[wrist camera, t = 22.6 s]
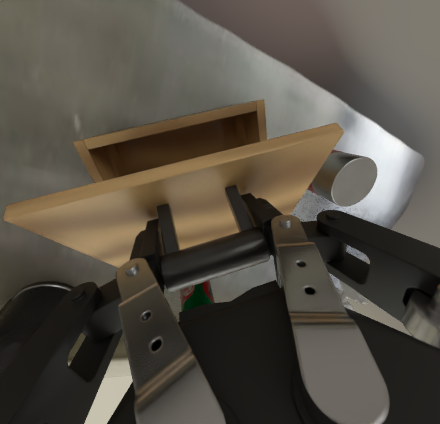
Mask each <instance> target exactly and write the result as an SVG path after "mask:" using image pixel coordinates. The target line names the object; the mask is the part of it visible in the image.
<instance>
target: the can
mask: <svg viewBox="0 0 440 424" xmlns="http://www.w3.org/2000/svg"><path fill="white" fill-rule="evenodd" d="M376 177H377V167H376V164H375V162H374V161H373V160H372V159H370V158H368V157H363V156H359V155H354V154H349V153H344V152H341V151H336V150H332V152H331V153H330V155H329V156H328V158H327V159H326V161H325V162H324V164H323V165H322V167H321V168H320V170H319V171H318V173H317V175H316V176H315V178H314V179H313V181H312V182H311V184H310V185H309V187H308V188H307V189H308V190H310V191H312V192H314V193H316V194H317V195H320V196H322V197H324V198H326V199H327V200H329V201H331V202H333V203H335V204H337V205H339V206H344V207H346V206H351V205H354V204H356V203H358V202H359V201H361V200H362V199H363V198H364V197H365V196H366V195H367V194H368V193H369V192H370V190H371V189H372V187H373V185H374V183H375V181H376Z"/></svg>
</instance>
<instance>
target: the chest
mask: <svg viewBox="0 0 440 424" xmlns="http://www.w3.org/2000/svg"><path fill="white" fill-rule="evenodd" d="M265 140H267V132H266V118H265V104H264V99H262V100H257V101H251V102H245V103H240V104H234V105H230V106H225V107H221V108H217V109H212V110H208V111H203V112H199V113H194V114H190V115H185V116H181V117H176V118H172V119H167V120H163V121H158V122H154V123H149V124H145V125H140V126H136V127H131V128H127V129H122V130H118V131H113V132H109V133H105V134H101V135H97V136H93V137H90V138H86V139H82V140H79V141H75V142H73V144H74V146H75V148H76V149H77V151H78V153H79V155H80V157H81V159H82V161H83V163H84V164H85V166H86V168H87V170H88V172H89V174H90V176H91V177H92V179H93V181H94V183H97V182H101V181H105V180H109V179H113V178H117V177H121V176H125V175H129V174H133V173H137V172H141V171H145V170H149V169H153V168H157V167H161V166H165V165H169V164H173V163H177V162H181V161H185V160H189V159H193V158H197V157H201V156H205V155H209V154H213V153H217V152H221V151H225V150H229V149H233V148H237V147H241V146H245V145H249V144H253V143H257V142H261V141H265Z"/></svg>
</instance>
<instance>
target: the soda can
mask: <svg viewBox="0 0 440 424" xmlns="http://www.w3.org/2000/svg"><path fill="white" fill-rule="evenodd" d="M180 294H181V310H182V312H183V311H186V310H189V309H192V308H194V307H197V306H200V305H203V304H212V303H215V301H214V297H213V293H212V289H211V285H210V281H209V280H208V281H205V282H202V283H199V284H196V285H193V286H190V287H187V288H184V289H181V290H180Z"/></svg>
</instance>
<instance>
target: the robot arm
mask: <svg viewBox="0 0 440 424" xmlns="http://www.w3.org/2000/svg"><path fill="white" fill-rule="evenodd" d="M240 196H241V198H242V200H243V203H244V205H245V207H246V210H247V212H248V214H249V217H250V219H251V221H252V224H253V226H254V227H258V228H259V229H260V230H261V231H262V233H263V234H264V236H265V238H266V241H267V244H268V247H269V252H270V255H273V257H274V265H275V271H276V278H277V282H276V280H274V281H271V282H269V283H266V284H263V285H260V286H257V287H254V288H252V289H250V290H249V291H247V292H245V293H244V294H242V295H241V296H239V297H237V298H236V299H234V300H232V301H230V302H223V303H212V304H203V305H200V306H197V307H194V308H192V309H189V310H186V311H183V312H180V313H179V320H180V322H177V320H176V318H175V316H174V314H173V312H172V310H171V308H170V306H169V304H168V302H167V300H166V298H165V296H164V289H166V286H165V283H164V280H163V277H162V272H161V265H160V261H161V256H162V255H165V253H164V247H163V241H162V236H161V230H160V224H159V219H158V218H157V219H153V220H150V221H147V224H146V229H145V230H143V231H140V233H139V234H138V235H137V236H136V238H135V242H134V245H133V249H132V252H131V256H130V259H129V261H128V262H126V263H125V264H123V265H122V266H121V267H120V268H119V269H118V271H117V273H116V279H114V280H112V281H111V282H109V283H107V284H105V285H103V286H101V287H99V288H98V286H97V285H96V284H95V283H94V282H87V283H83V284H81V285H79V286H77V287H75V288H73V287H71V286H68V285H65V284H62V283H56V282H41V283H35V284H32V285H29V286H27V287H25V288H23V289H22V290H21V291H20V292H19V293H18V294H17V295H16V296H15V297H14V299H11V300H9V301H8V302H7V303H6V305H5V306H4V307H3V308H2V309H1V310H0V424H84V422H85V420H86V418H87V415H88V413H89V410H90V408H91V406H92V404H93V401H94V399H95V397H96V394H97V392H98V389H99V387H100V385H101V382H102V380H103V378H104V375H105V373H106V371H107V368H108V366H109V364H110V361H111V359H112V357H113V354H114V352H115V349H116V347H117V345H118V342H119V340H120V338H121V335H122V333H123V335H124V340H125V345H126V350H127V355H128V360H129V365H130V369H131V374H132V379H133V382H132V384H131V385H130V387H129V389H128V390H127V392H126V393H125V395H124V397H123V398H122V400H121V402H120V403H119V405H118V407H117V408H116V410H115V412H114V413H113V415H112V416H111V418H110V420H109V421H108V423H107V424H440V248H438V247H435V246H433V245H430V244H427V243H425V242H422V241H419V240H417V239H414V238H411V237H408V236H406V235H403V234H401V233H398V232H395V231H392V230H390V229H387V228H385V227H382V226H379V225H377V224H374V223H371V222H368V221H366V220H363V219H360V218H358V217H355V216H352V215H350V214H347V213H344V212H342V211H337V210H326V211H322V212H320V213H319V214H318V215H317V221H309V222H300V220H299V218H297V217H295V216H293V215H283V214H282V213H281V212H280V211H279V210H277V209H276V208H275V207H274V206H273V205H272V204H270V203H269V202H268V201H267V200H265V199H262V198H257V199H256V198H255V197H254V196H253V195H252V194H251V193H247V194H244V195H240ZM347 245H349V246H351V247H353V248H355V249H357V250H359V251H361V252H363V253H364V254H365V255H366V256H367V257H368V258H369V260H370V264H367V263H366V262H364V261H362V260H360V259H359V258H357V257H355V256H353V255H351V254H349V253H348V252H346V247H347ZM328 272H329V273H331V274H332V275H333V276H335V277H336V278H338V279H339V280H341V281H342V282H344V283H345V284H347V285H348V286H349V287H351V288H352V289H354V290H355V291H357V292H358V293H360V294H361V295H363V296H364V297H365V298H367V299H369V300H370V301H371V302H373V303H374V304H376V305H377V306H379V307H380V308H381V309H383V310H384V311H386V312H387V313H389V314H390V315H392V316H393V317H395V318H396V319H397V320H399V321H400V322H402V323H403V324H404V326H405V328H406V329H407V330H408V332H409V333H410V334H411V335H412V336H410V335H407V334H405V333H403V332H401V331H398V330H396V329H394V328H391V327H389V326H387V325H385V324H382V323H380V322H378V321H375V320H373V319H371V318H368V317H366V316H364V315H362V314H359V313H357V312H355V311H352V310H350V309H348V308H346V307H344V305H343V303H342V301H341V299H340V297H339V294H338V292H337V290H336V288H335V286H334V284H333V281H332V279H331V277H330V275H329V273H328ZM81 332H82V333H83V334H84V335H85V336H86V338H85V340H84V341H83V343H82V345H81V347H80V348H79V350H78V352H77V353H76V355H75V357H74V359H73V360H72V362H71V364H70V366H68V362H67V360H68V355H69V352H70V350H71V349H72V347H73V345H74V344H75V342H76V340H77V339H78V337H79V335H80V334H81Z"/></svg>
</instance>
